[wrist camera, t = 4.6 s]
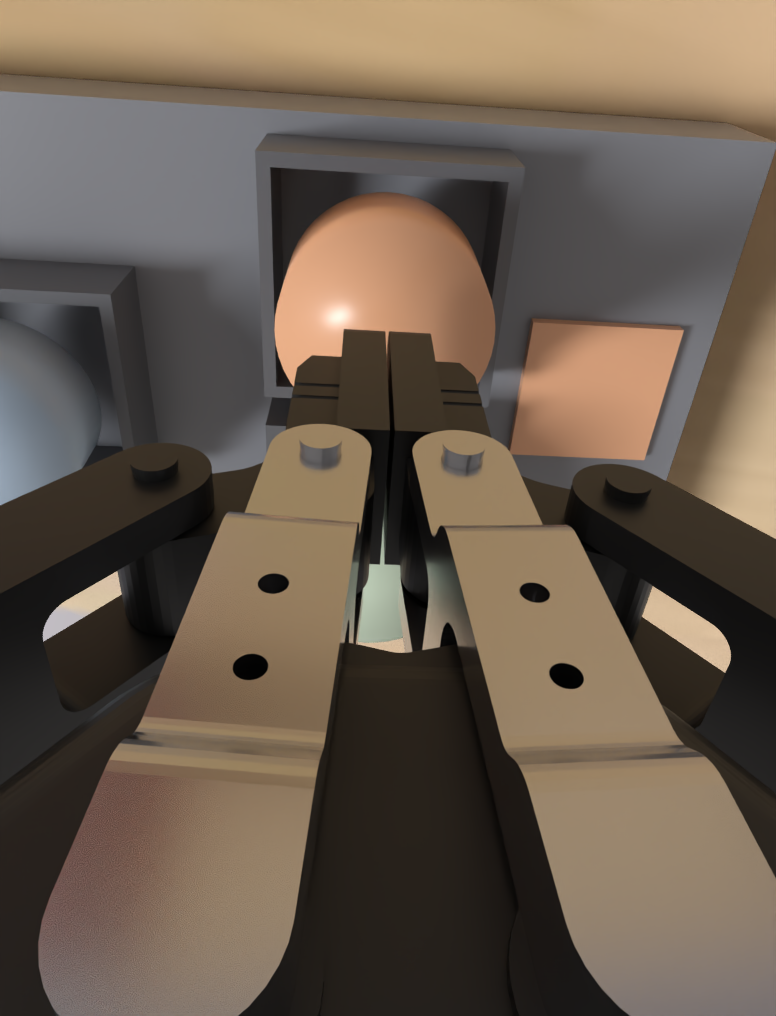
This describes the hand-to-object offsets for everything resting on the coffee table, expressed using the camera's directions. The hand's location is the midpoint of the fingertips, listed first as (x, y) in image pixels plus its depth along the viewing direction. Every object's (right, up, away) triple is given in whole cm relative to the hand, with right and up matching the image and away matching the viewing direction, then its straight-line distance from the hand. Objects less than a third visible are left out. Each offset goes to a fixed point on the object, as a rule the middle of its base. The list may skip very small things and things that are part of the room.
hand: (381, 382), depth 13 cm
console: (-2, +3, +10) cm, 11 cm away
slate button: (-9, 0, +5) cm, 11 cm away
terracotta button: (0, +3, +4) cm, 5 cm away
